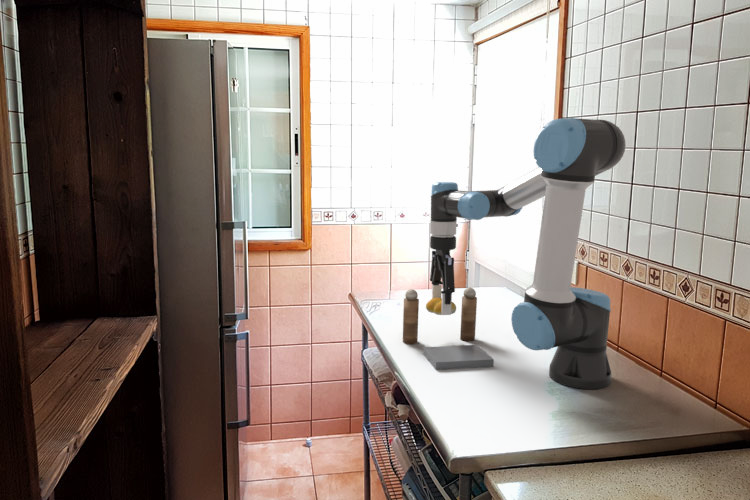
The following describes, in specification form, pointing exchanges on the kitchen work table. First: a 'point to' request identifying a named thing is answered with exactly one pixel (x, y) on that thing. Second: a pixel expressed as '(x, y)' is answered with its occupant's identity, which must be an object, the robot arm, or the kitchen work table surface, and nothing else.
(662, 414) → the kitchen work table surface
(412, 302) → the mill left
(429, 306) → the bread roll
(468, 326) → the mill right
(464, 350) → the slate board
